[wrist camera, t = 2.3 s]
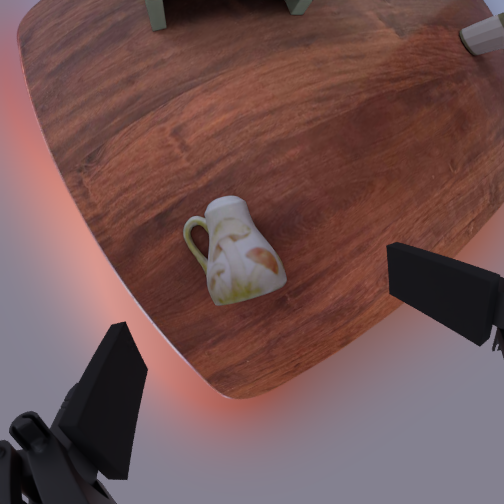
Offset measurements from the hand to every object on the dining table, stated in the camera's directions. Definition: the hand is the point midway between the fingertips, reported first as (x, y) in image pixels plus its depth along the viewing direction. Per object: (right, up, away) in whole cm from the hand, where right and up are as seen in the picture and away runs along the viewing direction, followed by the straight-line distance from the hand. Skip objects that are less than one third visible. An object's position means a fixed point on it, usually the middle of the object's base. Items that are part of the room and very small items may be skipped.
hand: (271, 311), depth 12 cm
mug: (-3, +3, +16) cm, 17 cm away
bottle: (+43, +45, +16) cm, 64 cm away
